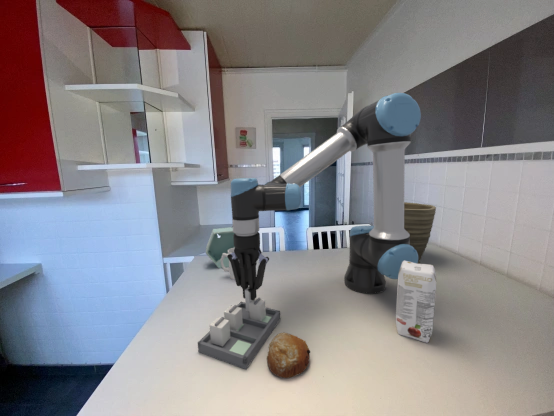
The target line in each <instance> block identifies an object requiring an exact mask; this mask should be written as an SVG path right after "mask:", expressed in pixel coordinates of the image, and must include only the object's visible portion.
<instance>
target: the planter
mask: <svg viewBox="0 0 554 416" xmlns="http://www.w3.org/2000/svg"><path fill="white" fill-rule="evenodd" d="M234 234H235V233H234V232H233V226H232V227H231V226H230V227H220V228H219V227H218V228H212V230H211V232H210V236H209V239H208V241H207V244H206V247H205V254H206V255H207V257H208V258H209V259H210V260H211V261H212V262H213V263H214V265H215V267H217V268H218V269H223V268H222V266H221V257H222V255H223V253H226V254H228V250H229V249H231V248H235V247H234V239H233V235H234ZM223 264H224V266H225V267H226V268H229V259H228V257H225V258H224V259H223Z"/></svg>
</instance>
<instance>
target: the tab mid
mask: <svg viewBox="0 0 554 416" xmlns="http://www.w3.org/2000/svg"><path fill="white" fill-rule="evenodd" d="M237 305H238V304H234V305H230V306H229V307H228V308H227V309H225V310H224V312H223V317H224V319H226V320H229V324H230V329H232V330H236V331H237V330H238V329H239V328H240V327H241V325H242V324H243V321H242V308H240V307H237Z"/></svg>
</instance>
